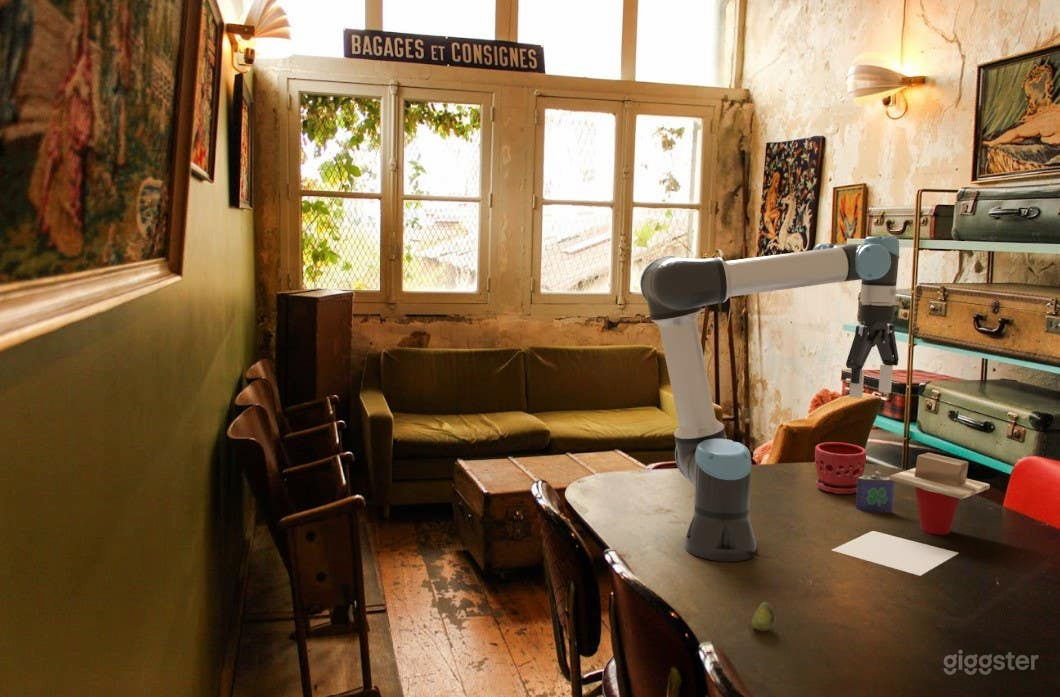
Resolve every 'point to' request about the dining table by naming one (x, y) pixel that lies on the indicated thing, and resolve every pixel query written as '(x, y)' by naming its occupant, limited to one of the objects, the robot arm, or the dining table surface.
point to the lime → (763, 617)
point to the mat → (896, 552)
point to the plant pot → (839, 466)
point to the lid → (941, 476)
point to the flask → (875, 494)
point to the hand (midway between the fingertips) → (870, 394)
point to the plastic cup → (936, 511)
